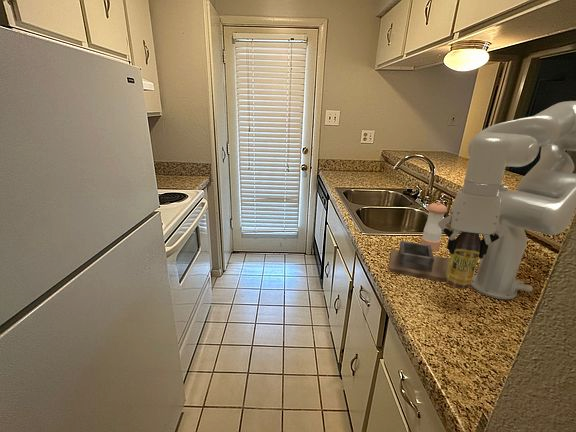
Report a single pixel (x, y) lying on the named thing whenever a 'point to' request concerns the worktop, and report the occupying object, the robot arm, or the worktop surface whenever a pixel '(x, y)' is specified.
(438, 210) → the pepper shaker
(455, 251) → the sauce bottle
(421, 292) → the worktop surface
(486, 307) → the worktop surface
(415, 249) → the bottle caddy
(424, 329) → the worktop surface
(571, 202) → the robot arm
